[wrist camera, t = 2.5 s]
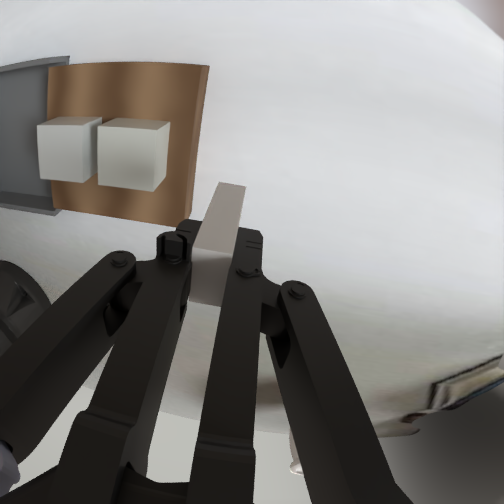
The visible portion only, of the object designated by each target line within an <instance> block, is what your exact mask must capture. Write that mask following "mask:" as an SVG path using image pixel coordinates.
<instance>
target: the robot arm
mask: <svg viewBox="0 0 504 504" xmlns="http://www.w3.org/2000/svg"><path fill="white" fill-rule="evenodd" d="M245 190H246V187H245V186H240V185H234V184H228V183H222V182H219V183H218V186H217V188H216V190H215V193H214V195H213V197H212V200H211V202H210V205H209V207H208V210H207V212H206V214H205V217H204V219H203V221H197V220H191V219H185V220H183V221H182V222H180V223H179V224H178V226H177V228H176V230H175V231H169V232H164V233H162V234H160V235H159V236H158V237H157V256H156V258H155V259H153V260H148V261H136V258H135V256H134V255H133V254H132V253H130V252H128V251H114V252H111V253H109V254H107V255H106V256H105V257H104V258H102V259H101V260H100V261H99V262H98V263H97V264H96V265H94V266H93V267H92V268H91V269H90V270H89V271H88V272H87V273H85V274H84V275H83V276H82V277H81V278H80V279H79V280H78V281H77V282H75V283H74V284H73V285H72V286H71V287H70V288H69V289H68V290H67V291H66V292H65V293H63V294H62V295H61V296H60V297H59V298H58V299H57V300H56V301H55V302H54V303H53V304H52V305H51V304H50V301H49V300H48V298H47V296H46V294H45V293H44V291H43V290H42V289H41V287H40V286H39V285H38V284H37V283H36V282H35V281H34V279H33V278H31V277H30V276H29V275H28V274H27V273H26V272H25V271H23V270H22V269H21V268H19V267H17V266H16V265H14V264H12V263H9V262H5V261H0V504H254V503H253V492H254V479H255V478H254V477H255V461H256V455H255V450H254V448H253V435H254V421H255V406H256V390H257V374H258V357H259V340H260V332H261V333H264V334H266V340H267V344H268V348H269V351H270V355H271V359H272V362H273V366H274V370H275V373H276V377H277V381H278V384H279V388H280V392H281V395H282V399H283V403H284V406H285V410H286V414H287V417H288V421H289V424H290V428H291V432H292V435H293V439H294V442H295V446H296V450H297V453H298V457H299V460H300V464H301V467H302V471H303V474H304V478H305V481H306V485H307V488H308V492H309V495H310V499H311V502H312V504H413V502H412V501H411V500H410V499H409V498H408V497H407V496H406V494H404V492H403V491H402V490H401V489H400V488H399V486H397V484H396V483H395V481H394V478H393V476H392V473H391V470H390V468H389V465H388V463H387V460H386V458H385V455H384V453H383V450H382V448H381V445H380V443H379V440H378V438H377V435H376V433H375V430H374V428H373V425H372V423H371V420H370V418H369V416H368V413H367V411H366V408H365V406H364V404H363V401H362V399H361V397H360V394H359V392H358V390H357V387H356V385H355V383H354V380H353V378H352V376H351V373H350V371H349V369H348V366H347V364H346V362H345V360H344V357H343V355H342V353H341V351H340V348H339V346H338V344H337V342H336V339H335V337H334V335H333V333H332V330H331V328H330V326H329V324H328V322H327V319H326V317H325V315H324V313H323V311H322V309H321V306H320V304H319V302H318V300H317V298H316V296H315V294H314V292H313V290H312V289H311V287H309V286H308V285H307V284H305V283H302V282H300V281H294V280H291V281H286V282H284V283H283V284H282V285H281V286H280V285H278V284H275V283H273V282H271V281H270V280H268V279H267V278H266V277H265V276H264V275H263V272H262V269H261V267H262V248H263V236H262V235H261V233H260V231H258V230H253V229H247V228H242V227H239V223H240V218H241V212H242V206H243V201H244V195H245ZM188 296H189V301H192V302H197V303H202V304H208V305H213V306H219V307H221V311H220V316H219V322H218V327H217V332H216V337H215V343H214V348H213V353H212V359H211V364H210V370H209V375H208V381H207V386H206V392H205V397H204V403H203V409H202V414H201V420H200V426H199V432H198V437H197V441H196V446H195V451H194V457H193V463H192V469H191V475H190V481H189V482H178V483H158V482H154V481H152V480H150V479H148V478H146V474H147V467H148V453H149V448H150V444H151V440H152V436H153V432H154V428H155V423H156V419H157V415H158V412H159V408H160V404H161V400H162V396H163V392H164V389H165V385H166V381H167V377H168V374H169V370H170V366H171V363H172V359H173V355H174V352H175V348H176V345H177V341H178V338H179V334H180V331H181V327H182V324H183V320H184V317H185V314H186V310H187V300H188ZM114 343H115V344H114ZM113 345H114V346H113ZM112 346H113V348H112V350H111V353H110V355H109V357H108V360H107V362H106V364H105V367H104V369H103V372H102V374H101V377H100V379H99V381H98V384H97V386H96V389H95V391H94V394H93V397H92V399H91V402H90V404H89V407H88V408H87V409H86V410H85V411H80V412H79V413H78V414H77V416H76V417H75V419H74V421H73V424H72V426H71V429H70V432H69V435H68V437H67V440H66V443H65V446H64V449H63V452H62V455H61V458H60V461H59V464H58V465H56V466H55V467H53V468H51V469H49V470H48V471H46V472H44V473H43V474H41V475H39V476H37V477H36V478H34V479H32V480H31V481H29V482H27V483H25V484H23V485H22V486H20V487H18V488H16V489H15V490H13V491H11V492H9V490H10V488H11V486H12V485H13V484H16V483H18V482H19V480H20V473H19V471H18V464H19V463H21V462H22V461H23V460H24V459H26V457H28V456H29V455H30V453H32V452H33V450H34V449H35V448H36V447H37V445H38V444H39V443H40V441H41V440H42V439H43V437H44V436H45V434H46V433H47V432H48V430H49V429H50V427H51V426H52V424H53V423H54V422H55V420H56V419H57V418H58V416H59V415H60V414H61V412H62V411H63V410H64V408H65V407H66V406H67V404H68V403H69V401H70V400H71V399H72V398H73V396H74V395H75V394H76V392H77V391H78V390H79V388H80V387H81V386H82V384H83V383H84V382H85V380H86V379H87V378H88V377H89V375H90V374H91V373H92V371H93V370H94V369H95V368H96V366H97V365H98V364H99V362H100V361H101V360H102V359H103V357H104V356H105V355H106V353H107V352H108V351H109V350H110V348H111V347H112Z"/></svg>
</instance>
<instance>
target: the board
mask: <svg viewBox="0 0 504 504" xmlns="http://www.w3.org/2000/svg"><path fill="white" fill-rule="evenodd" d="M209 67H210V66H206V65H195V64H182V63H165V62H101V63H84V64H72V65H63V66H55V67H49V76H48V100H47V121H49V120H51V119H54V118H57V117H102V124H104V123H106V122H108V121H110V120H112V119H115V118H132V119H146V120H159V121H169V122H170V131H169V142H168V154H167V167H166V177H165V178H164V179H163V181H162V182H161V183H160V184H159V185H158V187H157V188H156V189H155V190H154V192H150V191H143V190H135V189H128V188H120V187H112V186H104V185H98V172H97V173H96V174H94V175H93V176H92V177H90V178H89V179H88V180H87V181H85V182H84V183H79V182H69V181H60V180H51V190H52V198H53V206H54V208H57V209H63V210H70V211H76V212H83V213H89V214H96V215H102V216H108V217H115V218H121V219H127V220H134V221H140V222H146V223H152V224H158V225H165V226H171V227H177V226H178V224H179V223H180V222H182V221H183V220H185V219H188V218H189V216H190V214H191V210H192V200H193V189H194V179H195V170H196V161H197V152H198V144H199V136H200V128H201V121H202V113H203V106H204V99H205V93H206V86H207V80H208V73H209Z"/></svg>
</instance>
